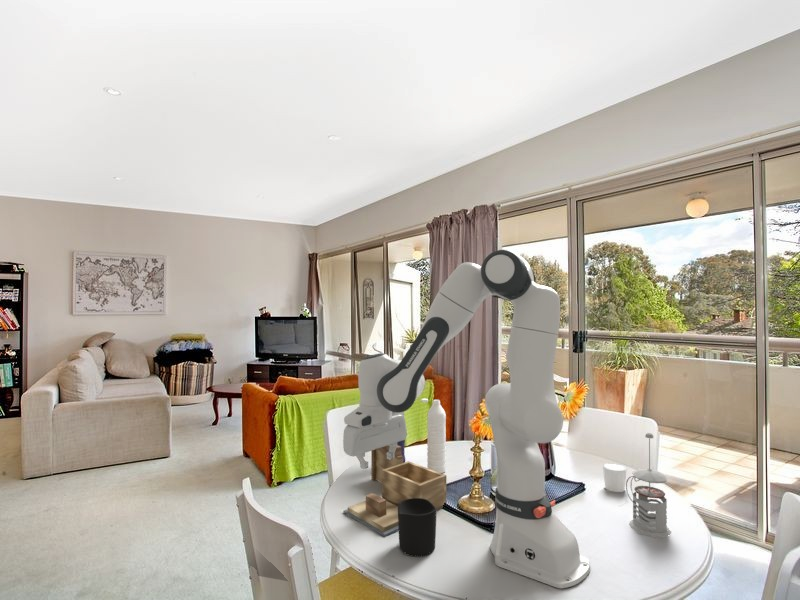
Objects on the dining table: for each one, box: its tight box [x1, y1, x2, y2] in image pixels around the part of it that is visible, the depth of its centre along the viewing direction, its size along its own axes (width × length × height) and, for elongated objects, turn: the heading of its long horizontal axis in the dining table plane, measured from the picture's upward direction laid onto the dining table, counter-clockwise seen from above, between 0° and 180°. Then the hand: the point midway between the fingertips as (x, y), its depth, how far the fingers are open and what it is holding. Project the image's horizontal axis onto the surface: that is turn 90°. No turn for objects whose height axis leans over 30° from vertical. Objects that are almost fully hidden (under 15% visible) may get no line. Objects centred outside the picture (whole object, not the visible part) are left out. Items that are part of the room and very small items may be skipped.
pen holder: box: [398, 498, 438, 558], centre depth 111 cm, size 9×9×10 cm
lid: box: [347, 492, 398, 532], centre depth 126 cm, size 16×11×5 cm
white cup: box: [602, 462, 627, 493], centre depth 146 cm, size 7×7×7 cm
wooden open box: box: [381, 461, 447, 511], centre depth 135 cm, size 16×11×9 cm
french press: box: [625, 432, 672, 539], centre depth 121 cm, size 10×12×25 cm
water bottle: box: [421, 398, 447, 474], centre depth 161 cm, size 9×6×25 cm
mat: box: [342, 508, 399, 538], centre depth 126 cm, size 18×12×1 cm, turn 43°
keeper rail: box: [370, 449, 403, 483], centre depth 149 cm, size 12×4×13 cm, turn 43°
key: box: [378, 445, 401, 456], centre depth 150 cm, size 10×2×2 cm, turn 43°
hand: (377, 463), depth 125 cm, fingers open, 8 cm apart
